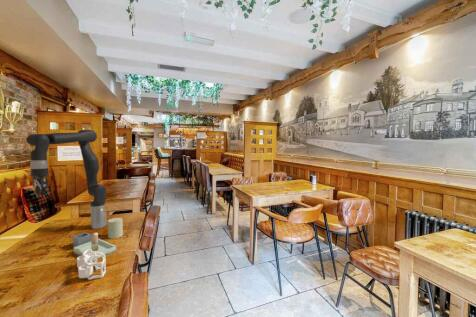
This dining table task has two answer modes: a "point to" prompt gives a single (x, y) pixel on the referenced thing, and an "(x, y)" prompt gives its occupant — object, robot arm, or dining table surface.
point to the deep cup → (81, 239)
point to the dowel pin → (94, 241)
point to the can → (115, 228)
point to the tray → (102, 247)
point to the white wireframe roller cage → (90, 264)
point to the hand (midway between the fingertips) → (40, 194)
